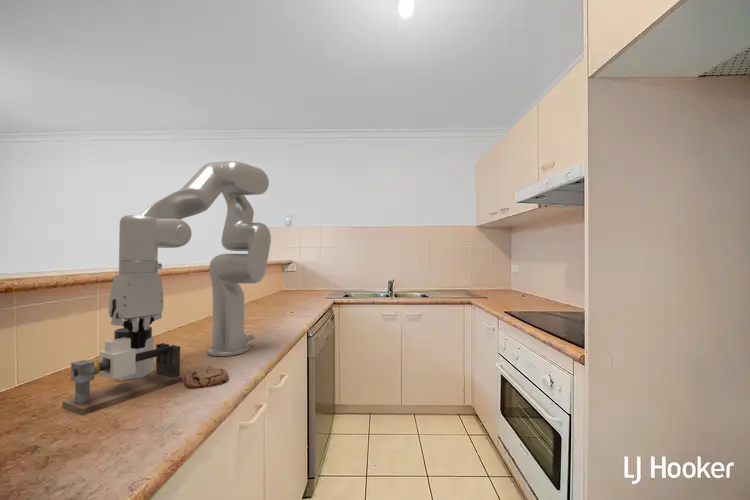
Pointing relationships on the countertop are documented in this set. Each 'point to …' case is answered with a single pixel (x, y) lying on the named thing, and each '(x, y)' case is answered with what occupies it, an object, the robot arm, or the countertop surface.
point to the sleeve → (118, 358)
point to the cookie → (206, 377)
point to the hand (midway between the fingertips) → (137, 347)
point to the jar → (144, 365)
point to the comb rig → (109, 396)
